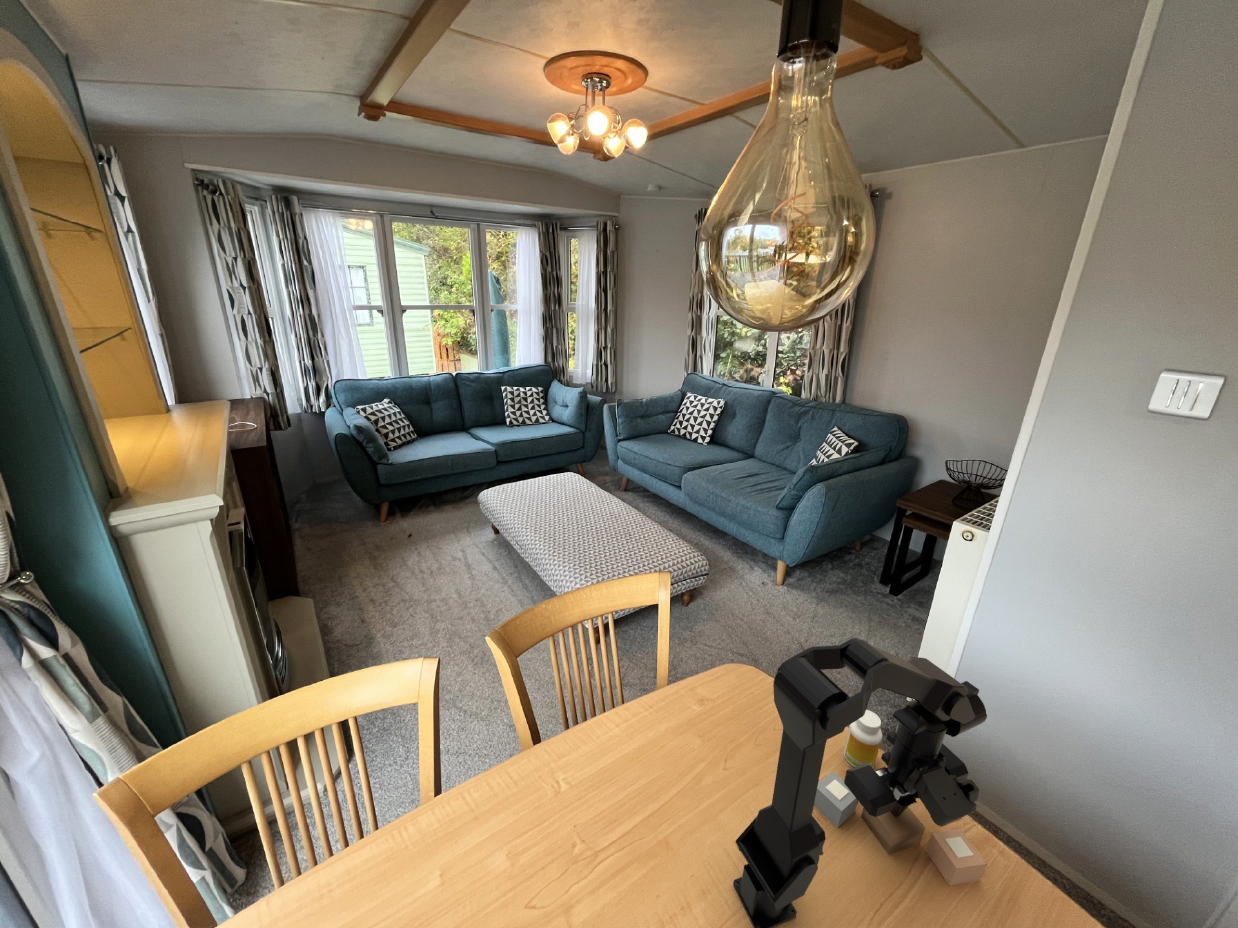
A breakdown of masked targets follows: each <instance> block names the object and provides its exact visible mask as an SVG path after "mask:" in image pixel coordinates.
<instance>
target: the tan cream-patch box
mask: <svg viewBox="0 0 1238 928" xmlns="http://www.w3.org/2000/svg"><path fill="white" fill-rule="evenodd" d="M925 852H926V853H927V854H928V856H929V857H930V859H931V860H932V861H933V863H934V865H935V867H936V868H937V870H938V871H939V872H940V874H941V875H942V876H943V878H944V880H945V881H946V883H947V884H948V886H955V885H956V886H957V885H964V884H967V883H968V884H969V883H976V882H981V879H982V877H983V875H984V872H985V869H986V867H987V866H988V862H987V861H986V860H985V858H984V857H983V856H982V855H981V853H980V852H979V851H978V849H977V848H976V847H975V845H974V844H973V842H972V841H971V839H969V837H968V836H967V834H966V833H965V832H964V831H963V829H962V828H956V829H948V830H940V831H934V832H931V833H930V835H929V839H928V842H927V845H926V847H925Z"/></svg>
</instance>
